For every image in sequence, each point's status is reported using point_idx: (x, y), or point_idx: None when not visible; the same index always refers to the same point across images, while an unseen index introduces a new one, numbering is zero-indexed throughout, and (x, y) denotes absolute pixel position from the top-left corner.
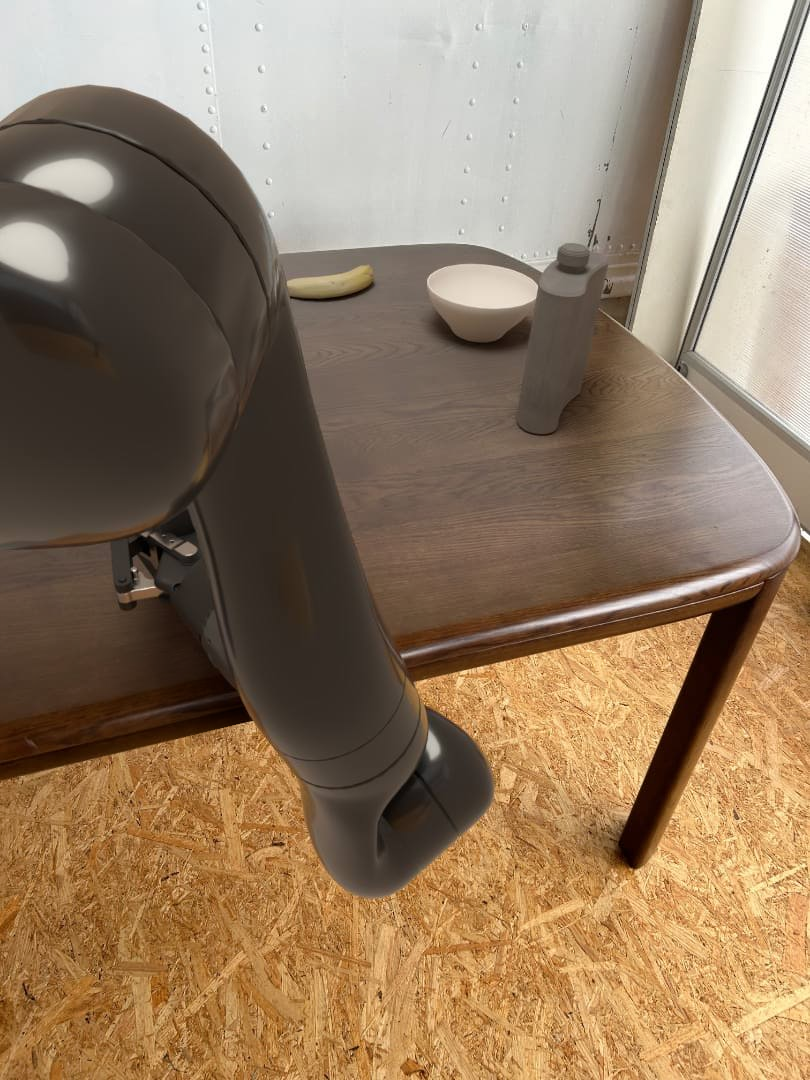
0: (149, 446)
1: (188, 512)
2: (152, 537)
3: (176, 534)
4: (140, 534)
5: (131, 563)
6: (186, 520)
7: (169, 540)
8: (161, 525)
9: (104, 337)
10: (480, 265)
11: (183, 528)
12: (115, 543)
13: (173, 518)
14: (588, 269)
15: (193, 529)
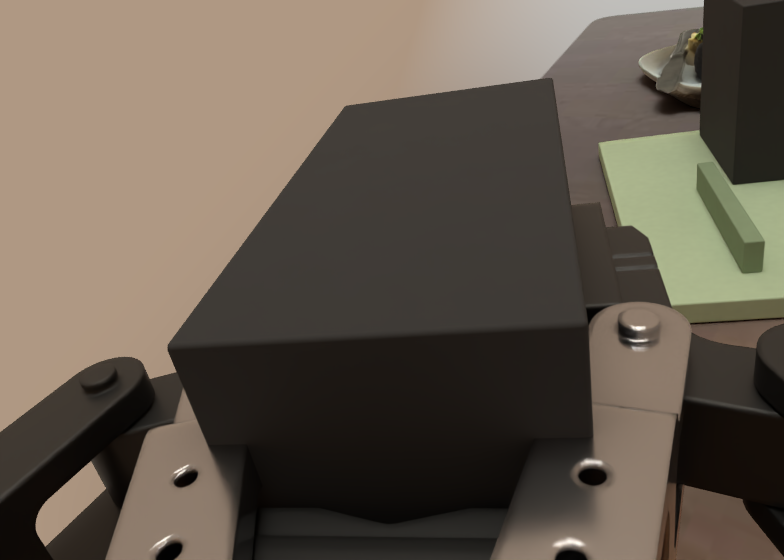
0: None
1: (391, 364)
2: (140, 455)
3: (311, 487)
4: (180, 405)
5: (46, 553)
6: (380, 418)
7: (168, 530)
8: (190, 397)
9: None
10: None
11: (359, 465)
12: (52, 410)
13: (270, 375)
14: None
15: (439, 493)
